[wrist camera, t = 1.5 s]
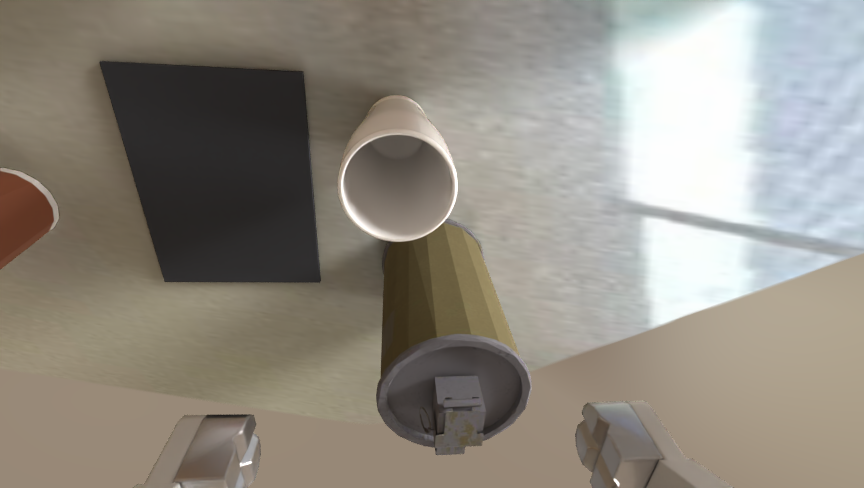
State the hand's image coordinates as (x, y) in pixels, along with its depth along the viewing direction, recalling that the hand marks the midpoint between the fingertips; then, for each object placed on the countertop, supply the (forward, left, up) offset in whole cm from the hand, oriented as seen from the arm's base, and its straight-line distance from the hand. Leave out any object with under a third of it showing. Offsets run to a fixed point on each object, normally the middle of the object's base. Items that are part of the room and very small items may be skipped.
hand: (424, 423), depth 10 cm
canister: (+13, +4, -30) cm, 33 cm away
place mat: (+5, -15, -30) cm, 34 cm away
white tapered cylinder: (-1, 0, -30) cm, 30 cm away
